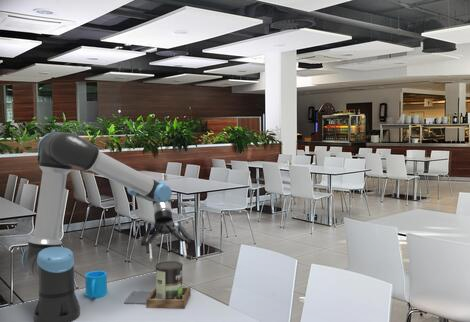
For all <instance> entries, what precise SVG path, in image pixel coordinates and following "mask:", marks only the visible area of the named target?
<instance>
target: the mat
mask: <svg viewBox="0 0 470 322" xmlns="http://www.w3.org/2000/svg"><path fill="white" fill-rule="evenodd" d="M152 291H153V290H152ZM152 291H150V290H149V291H145V290H143V291H142V290H140V291H139V290H132V291H131V293H130V294H129V295H128V296H127V298H126V299H125V300H124V301H123V304H124V305H146V299H147V298H148V297H149V295H150V294H151V292H152Z"/></svg>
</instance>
